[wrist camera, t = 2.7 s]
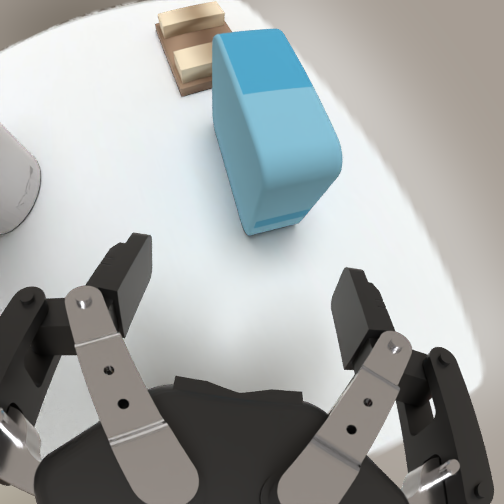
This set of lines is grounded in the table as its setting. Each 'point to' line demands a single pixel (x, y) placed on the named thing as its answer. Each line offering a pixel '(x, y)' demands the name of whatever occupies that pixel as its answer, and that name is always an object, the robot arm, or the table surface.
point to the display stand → (191, 43)
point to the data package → (270, 129)
